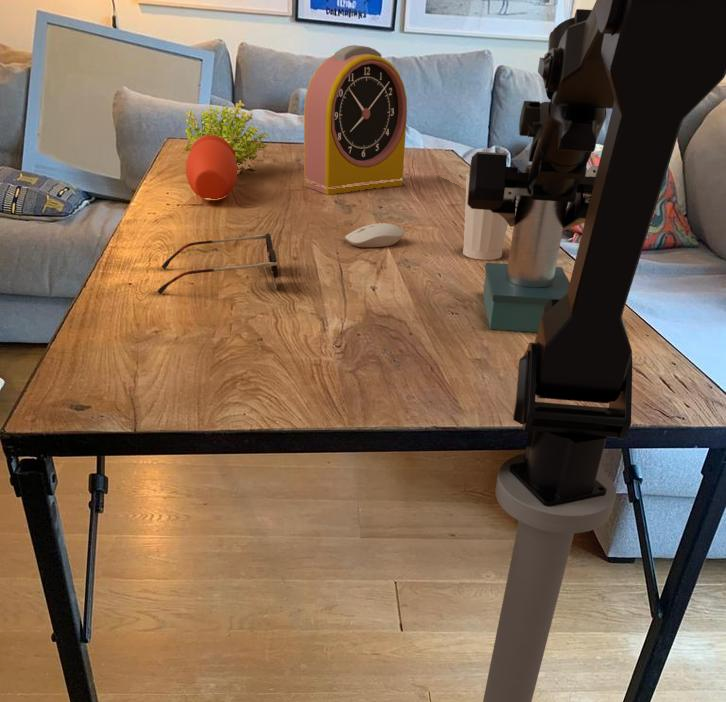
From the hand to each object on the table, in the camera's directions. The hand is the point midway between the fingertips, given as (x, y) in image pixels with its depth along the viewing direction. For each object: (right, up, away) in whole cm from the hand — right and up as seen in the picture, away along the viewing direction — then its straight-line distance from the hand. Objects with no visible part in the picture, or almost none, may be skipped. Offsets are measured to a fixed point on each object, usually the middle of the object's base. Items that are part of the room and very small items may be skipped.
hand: (537, 225), depth 92 cm
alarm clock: (-24, +33, +68) cm, 79 cm away
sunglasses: (-42, -4, +11) cm, 44 cm away
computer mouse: (-20, +8, +31) cm, 37 cm away
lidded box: (-1, -10, +5) cm, 11 cm away
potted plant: (-51, +32, +65) cm, 89 cm away
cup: (-2, +5, +28) cm, 28 cm away
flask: (0, -6, +2) cm, 7 cm away
